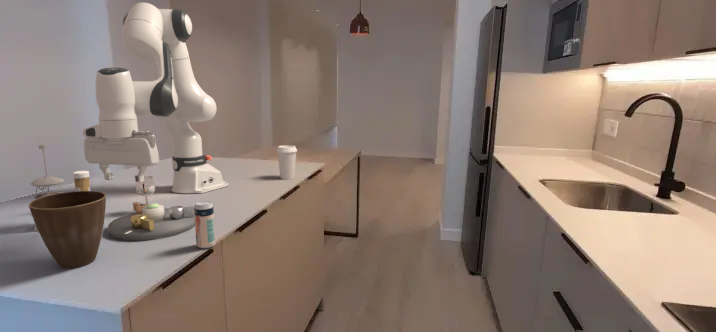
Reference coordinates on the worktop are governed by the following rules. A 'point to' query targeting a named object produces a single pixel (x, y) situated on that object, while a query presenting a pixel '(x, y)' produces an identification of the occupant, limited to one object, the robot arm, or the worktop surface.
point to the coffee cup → (287, 161)
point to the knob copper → (138, 207)
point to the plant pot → (71, 225)
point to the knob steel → (181, 212)
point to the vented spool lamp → (45, 182)
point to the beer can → (204, 224)
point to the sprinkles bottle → (81, 181)
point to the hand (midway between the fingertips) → (124, 180)
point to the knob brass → (141, 222)
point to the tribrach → (162, 225)
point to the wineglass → (146, 187)
